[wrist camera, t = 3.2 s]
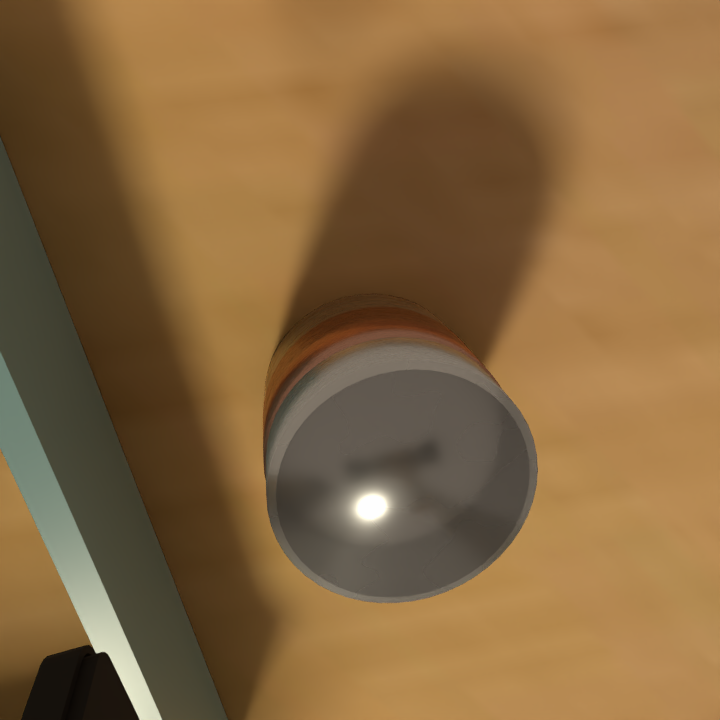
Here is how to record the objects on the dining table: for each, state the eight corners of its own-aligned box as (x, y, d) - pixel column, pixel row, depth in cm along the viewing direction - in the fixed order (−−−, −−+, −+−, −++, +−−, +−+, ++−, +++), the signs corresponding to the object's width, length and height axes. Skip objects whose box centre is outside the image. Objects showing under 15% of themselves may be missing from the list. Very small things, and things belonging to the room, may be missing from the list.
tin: (450, 268, 19) (523, 327, 14) (481, 455, 21) (554, 566, 16) (237, 321, 18) (229, 401, 13) (292, 505, 21) (302, 635, 16)
